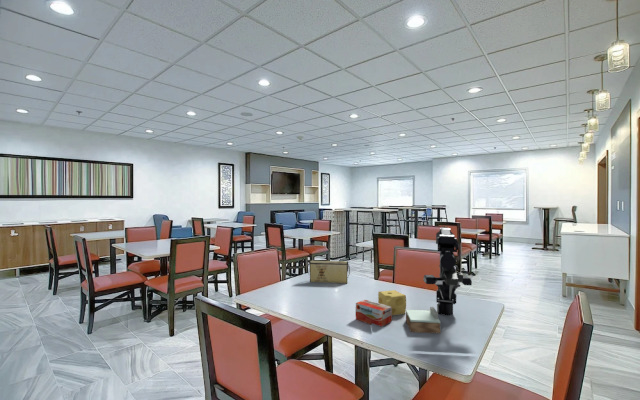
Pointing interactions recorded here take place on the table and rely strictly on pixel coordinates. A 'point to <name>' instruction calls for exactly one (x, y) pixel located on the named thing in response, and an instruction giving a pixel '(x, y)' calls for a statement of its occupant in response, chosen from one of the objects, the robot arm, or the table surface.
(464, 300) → the table surface
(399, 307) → the cheese
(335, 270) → the clutch purse
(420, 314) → the lid
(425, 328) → the walnut box
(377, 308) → the medicine box
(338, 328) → the table surface
